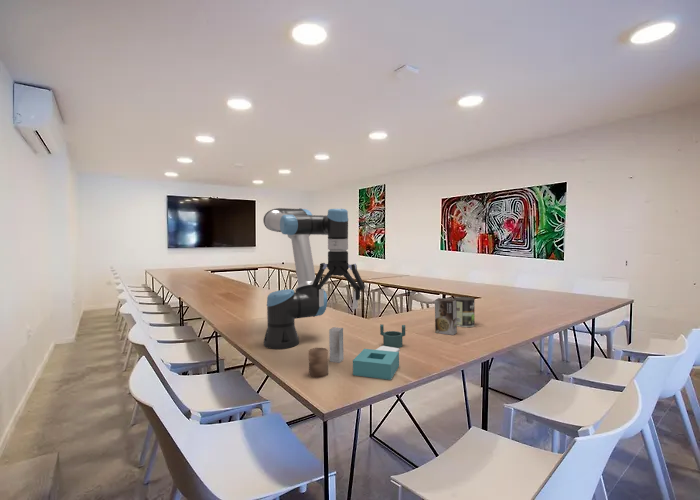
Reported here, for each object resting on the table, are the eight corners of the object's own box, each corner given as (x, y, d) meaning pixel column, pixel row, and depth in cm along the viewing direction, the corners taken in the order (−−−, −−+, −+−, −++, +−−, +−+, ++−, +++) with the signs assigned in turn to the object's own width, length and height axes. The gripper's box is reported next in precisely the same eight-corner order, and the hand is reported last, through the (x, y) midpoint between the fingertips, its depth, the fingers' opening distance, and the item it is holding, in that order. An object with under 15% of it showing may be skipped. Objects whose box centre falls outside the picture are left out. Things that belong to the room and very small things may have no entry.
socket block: (352, 375, 115) (352, 360, 115) (364, 362, 128) (364, 348, 128) (391, 379, 111) (390, 364, 111) (399, 365, 123) (399, 352, 123)
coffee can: (476, 324, 182) (476, 297, 182) (472, 328, 174) (471, 300, 173) (457, 321, 188) (457, 296, 188) (451, 325, 179) (451, 298, 179)
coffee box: (457, 332, 167) (457, 299, 166) (453, 335, 161) (453, 301, 161) (438, 329, 172) (438, 297, 171) (434, 332, 166) (434, 299, 166)
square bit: (329, 361, 129) (329, 329, 128) (333, 358, 132) (333, 327, 132) (339, 362, 127) (339, 330, 127) (343, 359, 131) (343, 327, 131)
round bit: (305, 376, 115) (305, 352, 115) (314, 369, 121) (313, 346, 121) (323, 378, 113) (322, 354, 113) (331, 371, 119) (330, 348, 119)
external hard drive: (399, 352, 140) (386, 361, 130) (381, 349, 144) (367, 357, 134) (399, 348, 140) (386, 357, 129) (381, 345, 144) (367, 353, 134)
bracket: (407, 346, 146) (407, 325, 146) (390, 349, 142) (389, 328, 141) (394, 341, 154) (394, 321, 154) (377, 344, 149) (377, 323, 149)
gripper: (303, 250, 128) (303, 307, 129) (367, 251, 120) (367, 311, 121) (311, 249, 136) (312, 303, 137) (373, 250, 128) (373, 307, 129)
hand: (338, 307), depth 129 cm, fingers open, 13 cm apart
